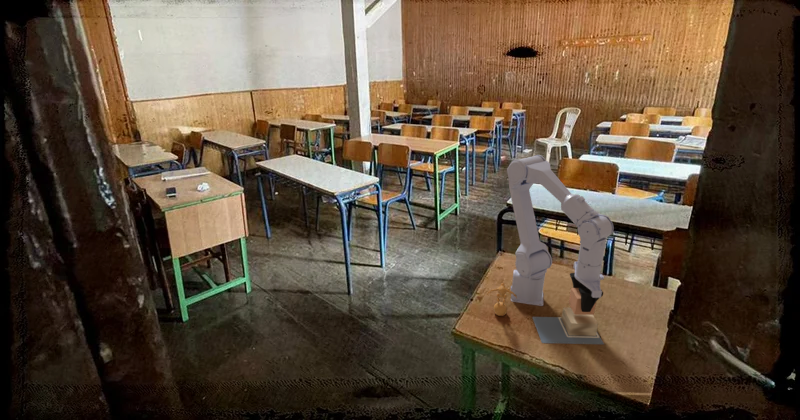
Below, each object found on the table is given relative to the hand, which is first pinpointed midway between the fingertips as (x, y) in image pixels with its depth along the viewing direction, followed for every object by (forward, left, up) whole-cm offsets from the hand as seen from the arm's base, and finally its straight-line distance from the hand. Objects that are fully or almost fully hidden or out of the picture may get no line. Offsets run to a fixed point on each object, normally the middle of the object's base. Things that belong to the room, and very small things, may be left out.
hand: (582, 304), depth 112 cm
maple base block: (0, 0, -8) cm, 8 cm away
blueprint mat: (-3, -2, -8) cm, 9 cm away
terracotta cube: (0, 0, -1) cm, 1 cm away
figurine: (-21, 0, -8) cm, 23 cm away
